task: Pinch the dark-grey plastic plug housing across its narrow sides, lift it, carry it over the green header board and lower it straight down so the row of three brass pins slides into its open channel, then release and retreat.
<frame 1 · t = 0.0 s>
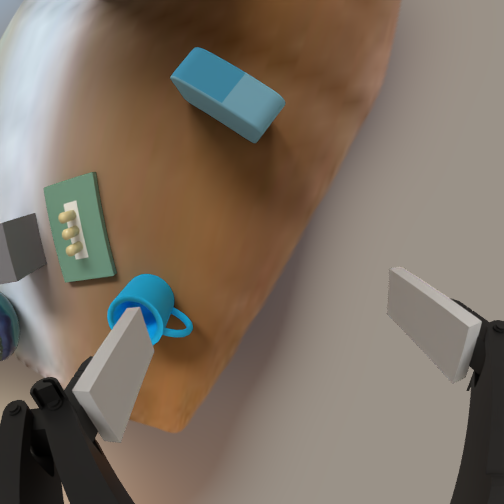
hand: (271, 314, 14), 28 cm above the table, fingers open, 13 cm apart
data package: (228, 109, 37), on the table
plug housing: (29, 241, 39), on the table
vase: (5, 311, 43), on the table
header board: (79, 229, 40), on the table
mug: (160, 302, 44), on the table
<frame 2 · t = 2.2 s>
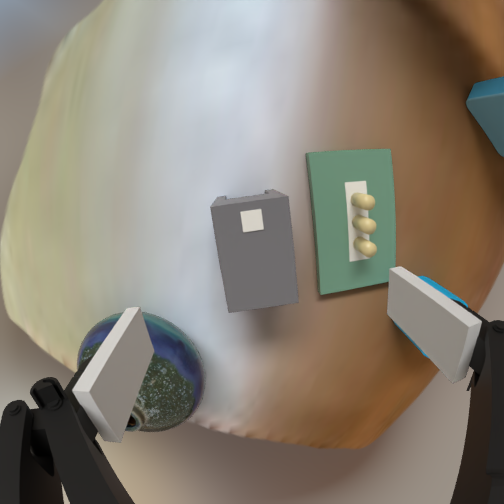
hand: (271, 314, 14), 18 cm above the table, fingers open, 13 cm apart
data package: (486, 121, 29), on the table
plug housing: (251, 233, 32), on the table
vase: (151, 346, 35), on the table
header board: (354, 219, 32), on the table
mug: (421, 306, 36), on the table
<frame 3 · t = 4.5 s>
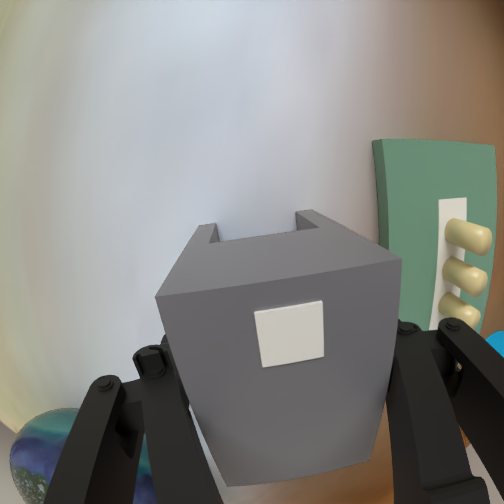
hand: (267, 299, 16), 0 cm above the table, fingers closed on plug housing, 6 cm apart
plug housing: (266, 295, 16), on the table, touching gripper
vase: (116, 439, 20), on the table
header board: (439, 262, 17), on the table
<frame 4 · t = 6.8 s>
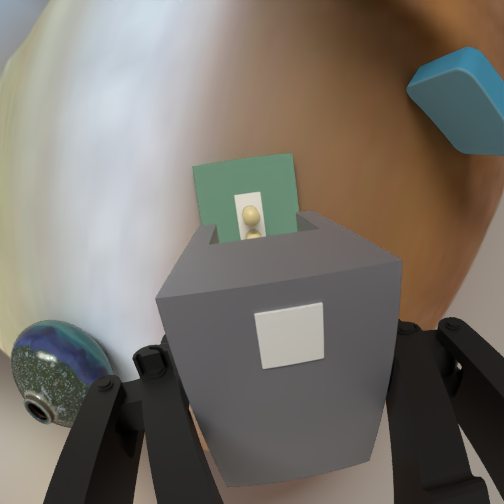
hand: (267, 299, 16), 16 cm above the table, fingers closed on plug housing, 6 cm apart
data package: (438, 111, 28), on the table
plug housing: (266, 296, 16), point 15 cm above the table, touching gripper
vase: (78, 351, 34), on the table
header board: (252, 234, 31), on the table
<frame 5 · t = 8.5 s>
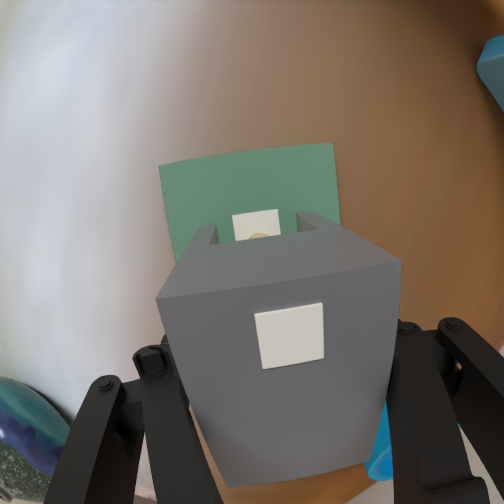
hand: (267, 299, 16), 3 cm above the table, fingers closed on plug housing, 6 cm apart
plug housing: (266, 296, 16), point 3 cm above the table, touching gripper
vase: (38, 409, 22), on the table
header board: (262, 278, 19), on the table
mug: (392, 389, 23), on the table
when the fingers open (3 cm above the table, at t = 9.6 s): plug housing stays where it is, resting on header board.
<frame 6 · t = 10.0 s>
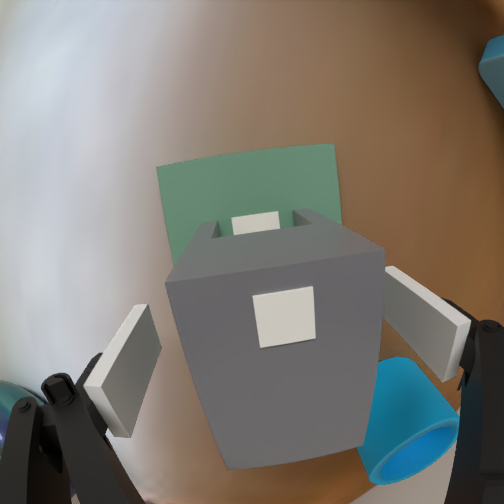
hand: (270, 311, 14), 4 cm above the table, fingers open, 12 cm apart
plug housing: (265, 289, 17), point 1 cm above the table, touching header board
vase: (37, 412, 22), on the table
header board: (262, 282, 18), on the table
mug: (393, 393, 23), on the table
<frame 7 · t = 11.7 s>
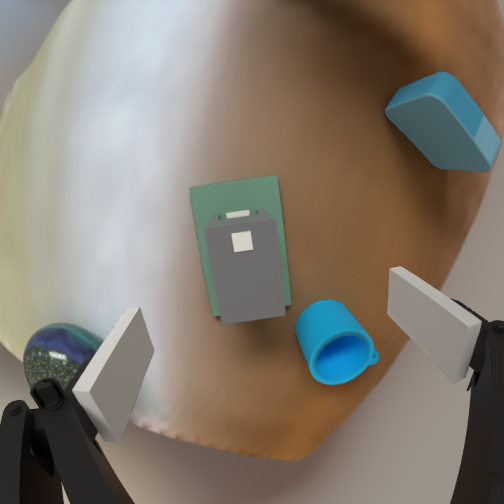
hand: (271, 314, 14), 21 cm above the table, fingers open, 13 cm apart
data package: (416, 130, 33), on the table
plug housing: (243, 249, 34), point 1 cm above the table, touching header board
vase: (85, 352, 38), on the table
header board: (242, 247, 35), on the table
mug: (334, 329, 39), on the table
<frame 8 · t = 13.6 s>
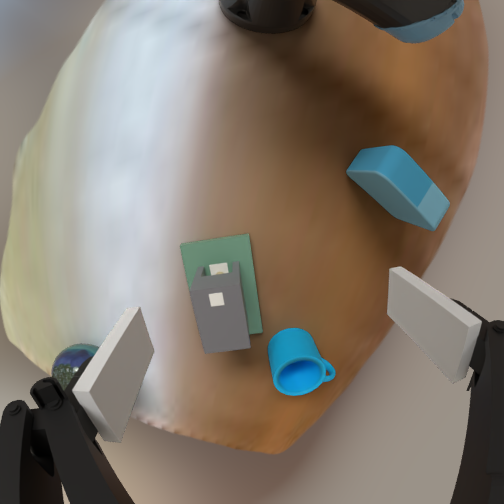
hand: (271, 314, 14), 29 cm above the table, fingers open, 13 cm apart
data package: (377, 184, 42), on the table
plug housing: (223, 292, 43), point 1 cm above the table, touching header board
vase: (100, 364, 48), on the table
header board: (223, 289, 44), on the table
mug: (300, 349, 49), on the table
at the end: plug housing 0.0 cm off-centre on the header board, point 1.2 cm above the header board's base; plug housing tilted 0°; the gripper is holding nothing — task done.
